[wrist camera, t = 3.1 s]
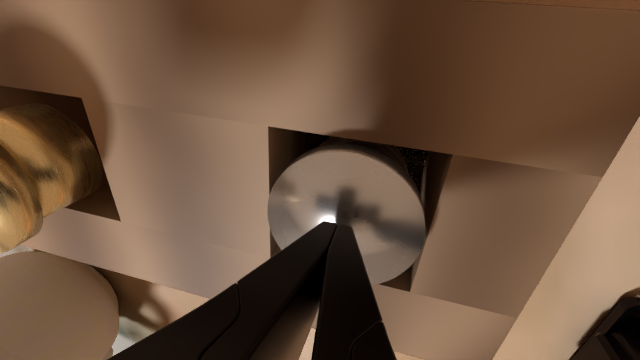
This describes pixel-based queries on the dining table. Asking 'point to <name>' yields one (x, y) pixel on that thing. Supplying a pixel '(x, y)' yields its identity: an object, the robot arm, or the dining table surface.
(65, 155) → the brass plug
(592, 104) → the walnut block
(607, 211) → the dining table surface
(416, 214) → the grey plug
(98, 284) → the teacup
